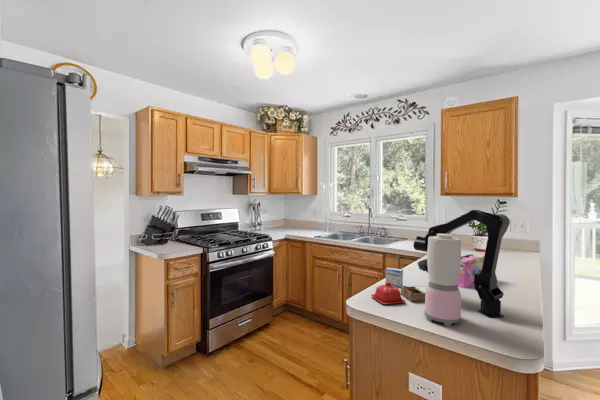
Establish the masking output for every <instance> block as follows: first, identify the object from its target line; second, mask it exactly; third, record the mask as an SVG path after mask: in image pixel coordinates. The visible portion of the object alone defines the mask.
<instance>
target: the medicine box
mask: <svg viewBox="0 0 600 400" xmlns="http://www.w3.org/2000/svg"><path fill="white" fill-rule="evenodd" d="M385 282H391V284H390V285H393V286H395V287H396V288H398V289H401V286H403V282H404V269H401V268H395V267H387V268H386V269H385ZM403 287H404V286H403Z"/></svg>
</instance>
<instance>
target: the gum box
mask: <svg viewBox="0 0 600 400" xmlns="http://www.w3.org/2000/svg"><path fill="white" fill-rule="evenodd" d="M484 256H485V255H483V256H482V257H480V256H478V255H477V256H476V255H474V254H466V255H463V256H462V255H461V267H460V273H459V278H458V283H457V285H458V288H463V289H466V288H469V287H471V286H474V284H473V282H474V279H475V274H476V273H480V272H481V271H482V266H483V261H484Z"/></svg>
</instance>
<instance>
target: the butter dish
mask: <svg viewBox="0 0 600 400" xmlns="http://www.w3.org/2000/svg"><path fill="white" fill-rule="evenodd" d="M390 284H391V282H386V281H385V282H384V284H381V285H378V286H377V287H376V289H375V293H372V294H370V296H371V297H372V298H373V299H375V300H377V301H378V303H379V302H380V303H381V304H383V305H390V304H399V303H405V302H406V300H405V299H404V298H402V295H401V290H400V288H399V287H395V286H393V285H390Z"/></svg>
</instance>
